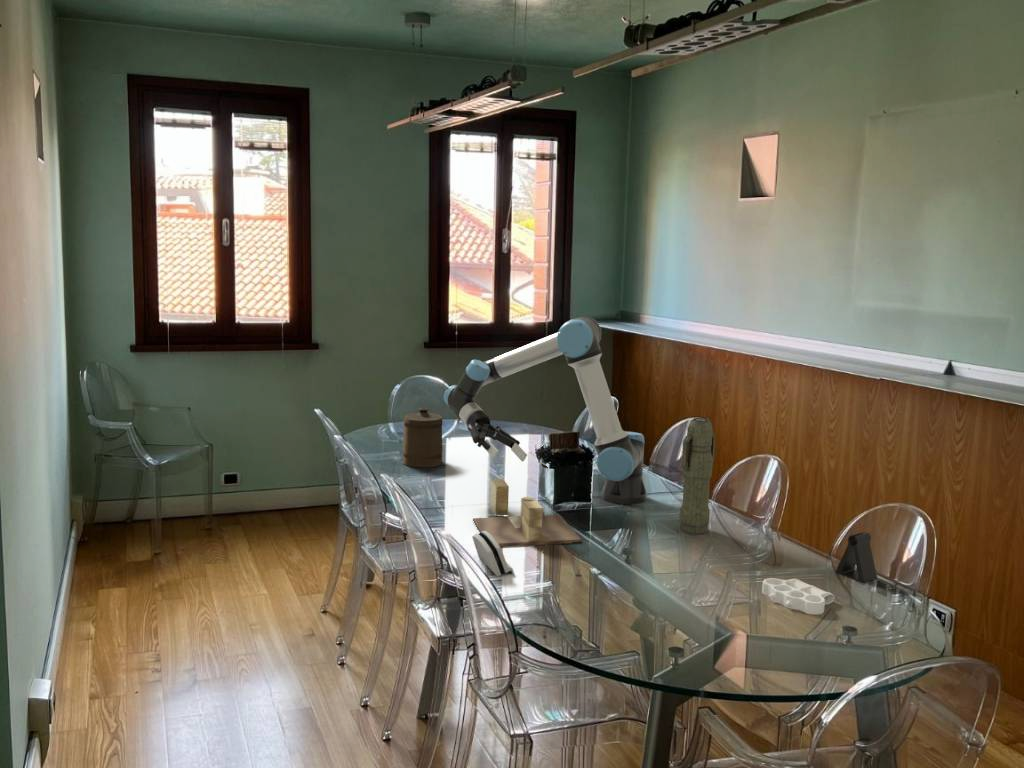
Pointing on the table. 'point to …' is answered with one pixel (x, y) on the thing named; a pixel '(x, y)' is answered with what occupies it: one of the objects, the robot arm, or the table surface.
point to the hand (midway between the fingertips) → (510, 456)
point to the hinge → (491, 553)
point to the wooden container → (422, 439)
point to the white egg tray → (797, 595)
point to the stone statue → (697, 476)
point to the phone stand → (858, 559)
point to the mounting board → (516, 537)
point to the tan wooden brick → (499, 497)
